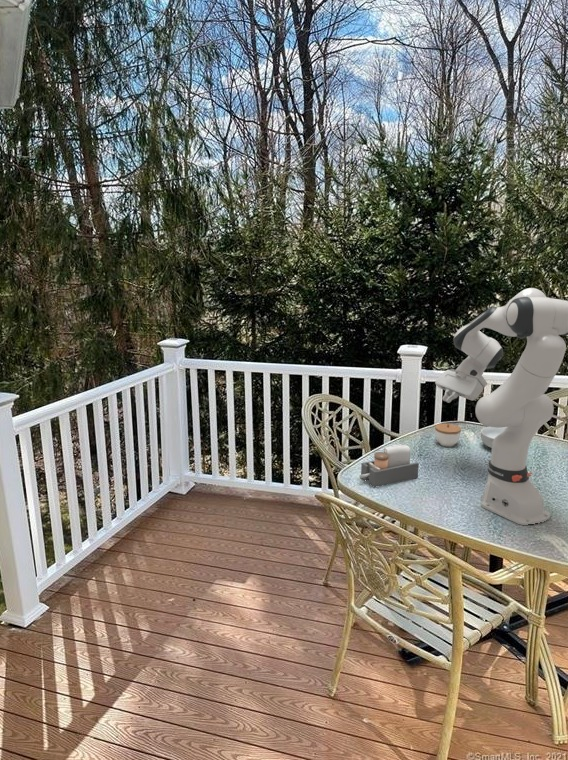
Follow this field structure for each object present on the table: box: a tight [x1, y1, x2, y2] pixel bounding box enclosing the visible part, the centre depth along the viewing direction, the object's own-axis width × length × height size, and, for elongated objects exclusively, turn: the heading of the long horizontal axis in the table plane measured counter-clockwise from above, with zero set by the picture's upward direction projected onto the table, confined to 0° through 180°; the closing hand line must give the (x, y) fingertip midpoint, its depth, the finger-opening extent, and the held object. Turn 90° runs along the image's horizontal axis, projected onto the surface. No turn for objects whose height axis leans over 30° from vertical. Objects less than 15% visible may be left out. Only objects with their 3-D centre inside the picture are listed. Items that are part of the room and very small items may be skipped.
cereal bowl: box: [480, 426, 507, 449], centre depth 230 cm, size 17×17×7 cm
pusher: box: [359, 462, 380, 479], centre depth 198 cm, size 6×6×6 cm
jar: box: [373, 451, 389, 470], centre depth 200 cm, size 5×5×10 cm
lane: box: [360, 460, 420, 488], centre depth 202 cm, size 9×20×6 cm, turn 114°
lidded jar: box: [434, 423, 462, 448], centre depth 234 cm, size 11×11×9 cm
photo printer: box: [383, 444, 411, 468], centre depth 203 cm, size 10×4×12 cm, turn 101°
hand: (445, 401), depth 205 cm, fingers closed
